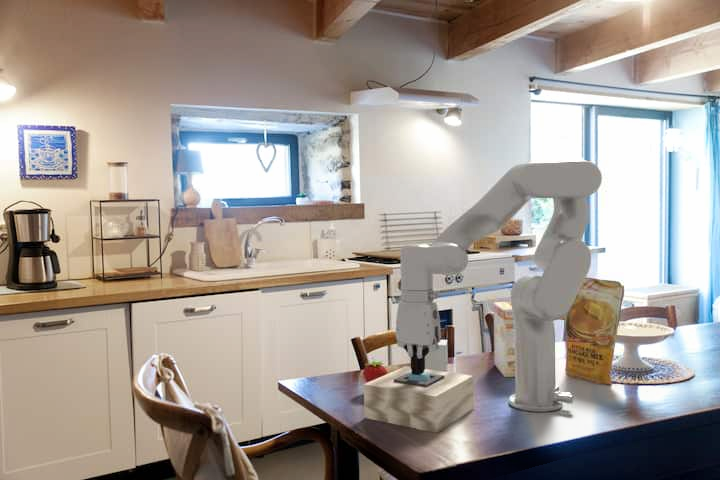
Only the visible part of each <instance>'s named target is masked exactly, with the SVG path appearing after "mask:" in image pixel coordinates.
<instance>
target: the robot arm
mask: <svg viewBox="0 0 720 480" xmlns="http://www.w3.org/2000/svg"><path fill="white" fill-rule="evenodd" d="M602 180H603V177H602V172H601V170H600V168H599V167H598V166H597V164H595V163H593V161H589V160H580V159H579V160H560V161H558V160H557V161H556V160H555V161H552V160H551V161H550V160H549V161H547V160H546V161H529V162H525V163H519V164H516V165H514V166H512V167H510V169H509V170H508V171H507V172H506V173H505V174H504V175H502V177H500V178H499V180H498V181H497V182H496V183H495V184H494V185H493V186H492V187H491V188H490V189H489V190H488V191H487V192H486V193H485V194H484V195H483V196H482V197H481V198H480V199H479V200H478V201H477V202H476V203H475V204H474V205H473V206H472V207H470V208H468V209H467V210H466V211H465V212H464V213H463V214H461V216H459V217H458V218H457V219H455V220H454V221H453V222H452V223H451V224H449V226H447V227H446V229H444V231H442V232H441V233H440V234H439V236H437V238H436V239H434V241H433V242H432V243H431V244H430V245H428V244H426V243H423V244H422V243H416V244H415V243H411V244H409V243H408V244H404V245H403V246H401V248H400V301H399V302H398V306H397V311H396V318H395V319H396V320H395V321H396V322H395V337H396V341H397V342H396V346H397V347H399V348H401V349H404V350H405V351H406V353H407V355H408V357H409V358H410V367H411V369H412V374H416V375H420V374H422V373H424V370H425V356H427V354H428V353H429V352H433V351H437V350H438V349H439V347H438V343H439V342H440V340H442V333H441V330H442V329H441V321H440V320H441V319H440V313H439V309H438V304H437V302H435V300H437V299H438V297H439V294H438V293H437V292H435V291H434V285H433V283H434V282H433V281H434V280H433V279H434V277H433V276H434V275H443V276H456V275H459V274H460V273H462V272H463V271H465V269H466V268H467V266H468V264H469V256H468V253H467V250H468V249H469V248H470V247H472V245H474V244H475V243H476V242H478V241H480V240H482V239H483V238H485V237H487V236H491V235H493V234H495V233H497V232H498V231H500V230H501V229H503V228H504V227H505V226H506V225H507V224H508V223H509V222H510V221H511V219H513V217H515V215H516V214H518V212H519V211H521V210H522V208H523V207H524V206H525V205H526V204H527V203H528V202H530V200H531V199H552V202H553V213H552V215H551V219H550V220H549V223H548V225H547V227H546V228H545V231H544V232H543V235H542V237H541V239H540V241H539V243H538V244H537V247H536V249H535V252H534V255H533V260H534V264H535V266H536V267H537V269H539V270H540V271H541V272H543V273H542V275H541V276H540V275H535V274H534V275H533V274H528V275H524V276H522V277H520V278H518V279H517V280H516V281H515V283H514V284H513V286H512V288H511V291H510V302H511V305H512V311H513V318H514V334H515V377H514V383H515V384H514V386H515V387H514V389H515V392H514V394H511V395H510V396H509V398H508V403H509V405H510V406H511V407H514V408H516V409H518V410H522V411H527V412H535V413H537V412H539V413H541V412H543V413H544V412H552V411H556V410H559V409H561V408H562V407H563V403H564V404H570V405H572V404H573V402H574V396H573V395H572V393H570V392H562V391H561V390H560V385H558V384H557V385H556V331H555V322H554V321H557V320H559V319H562V318H563V317H565V314H566V313H567V312H568V311H569V309H570V308H571V306H572V304H573V302H574V300H575V298H576V296H577V294H578V292H579V290H580V288H581V286H582V284H583V282H584V280H585V278H587V276H588V274H589V271H590V268H591V264H592V254H591V250H590V248H589V246H588V245H587V243H585V242H584V241H583V237H584V235H585V232H586V230H587V228H588V225H589V221H590V216H591V215H590V206H589V203H588V201H589V200H588V199H587V197H590V196H592V195H594V194H595V193H596V192H597V191H598V190H599V188H600V187H601V184H602V182H603V181H602Z"/></svg>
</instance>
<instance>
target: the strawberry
mask: <svg viewBox="0 0 720 480" xmlns="http://www.w3.org/2000/svg"><path fill="white" fill-rule="evenodd" d="M371 357H372V359H373V361H371V362H369V363H365V364H364V366H365V367H364V369H363V376H364V377H363V378H364V380H365V383H368V382H370V381H373V380H375V379H377V378H380V377H382V376H384V375H386V374H388V371H387V369H386V367H384V366H382V365H383V362H382V361H377V362H376V361H375V358H373V356H371Z"/></svg>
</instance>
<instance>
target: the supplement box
mask: <svg viewBox="0 0 720 480" xmlns="http://www.w3.org/2000/svg"><path fill="white" fill-rule="evenodd" d="M438 347H439V349H438V350H437V351H433V352H429V353H428V354H427V356H425V369H428V370H435V371H442V372H449V369H448V367H449V365H448V364H449V363H448V356H449V355H448V339H441V340H440V342H439V343H438Z"/></svg>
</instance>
